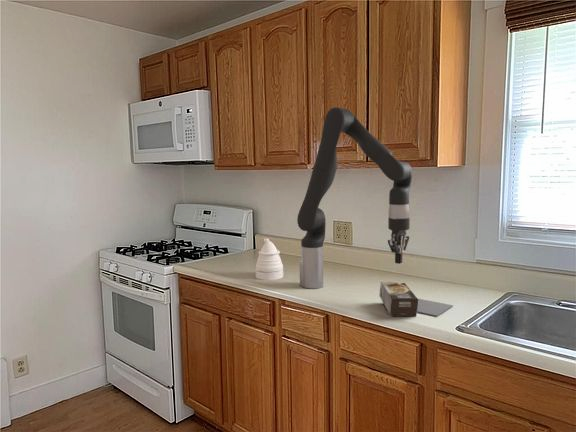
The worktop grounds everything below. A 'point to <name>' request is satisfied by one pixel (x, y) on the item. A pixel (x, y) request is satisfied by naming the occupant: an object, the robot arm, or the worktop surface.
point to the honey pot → (269, 262)
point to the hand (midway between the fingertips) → (398, 263)
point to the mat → (432, 307)
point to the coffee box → (398, 299)
